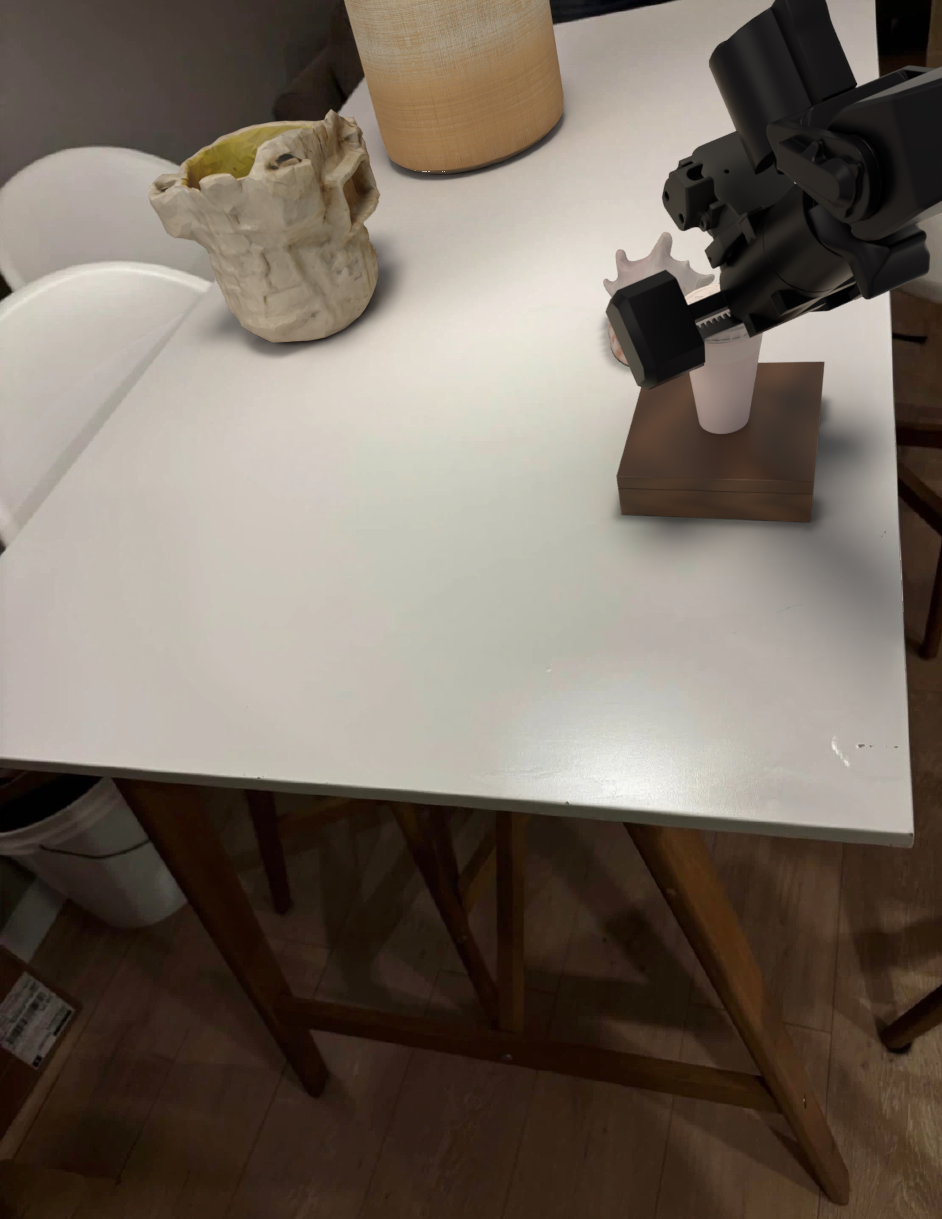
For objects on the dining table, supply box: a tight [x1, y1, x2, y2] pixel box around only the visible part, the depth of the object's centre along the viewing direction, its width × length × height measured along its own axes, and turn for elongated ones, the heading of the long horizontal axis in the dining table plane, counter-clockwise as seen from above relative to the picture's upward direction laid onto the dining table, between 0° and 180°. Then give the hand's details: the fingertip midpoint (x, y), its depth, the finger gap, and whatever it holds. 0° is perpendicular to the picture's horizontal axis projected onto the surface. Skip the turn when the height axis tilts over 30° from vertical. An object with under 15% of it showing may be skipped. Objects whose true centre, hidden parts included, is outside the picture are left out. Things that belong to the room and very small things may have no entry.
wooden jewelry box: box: [615, 361, 826, 523], centre depth 70 cm, size 14×14×4 cm
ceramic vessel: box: [148, 109, 381, 344], centre depth 96 cm, size 23×24×25 cm
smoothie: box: [685, 268, 764, 434], centre depth 63 cm, size 6×6×14 cm
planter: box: [343, 0, 565, 175], centre depth 116 cm, size 25×25×22 cm
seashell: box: [602, 231, 716, 366], centre depth 81 cm, size 10×12×9 cm
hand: (710, 327), depth 64 cm, fingers open, 8 cm apart
